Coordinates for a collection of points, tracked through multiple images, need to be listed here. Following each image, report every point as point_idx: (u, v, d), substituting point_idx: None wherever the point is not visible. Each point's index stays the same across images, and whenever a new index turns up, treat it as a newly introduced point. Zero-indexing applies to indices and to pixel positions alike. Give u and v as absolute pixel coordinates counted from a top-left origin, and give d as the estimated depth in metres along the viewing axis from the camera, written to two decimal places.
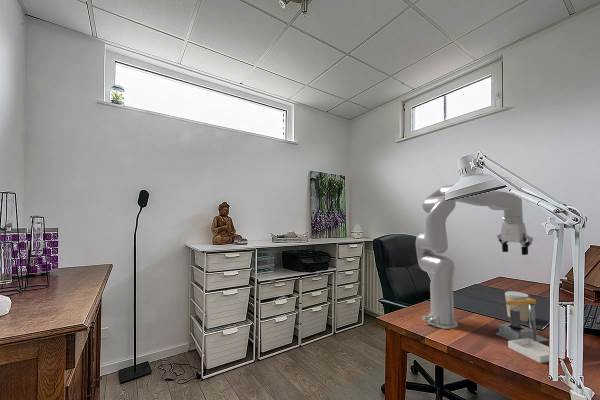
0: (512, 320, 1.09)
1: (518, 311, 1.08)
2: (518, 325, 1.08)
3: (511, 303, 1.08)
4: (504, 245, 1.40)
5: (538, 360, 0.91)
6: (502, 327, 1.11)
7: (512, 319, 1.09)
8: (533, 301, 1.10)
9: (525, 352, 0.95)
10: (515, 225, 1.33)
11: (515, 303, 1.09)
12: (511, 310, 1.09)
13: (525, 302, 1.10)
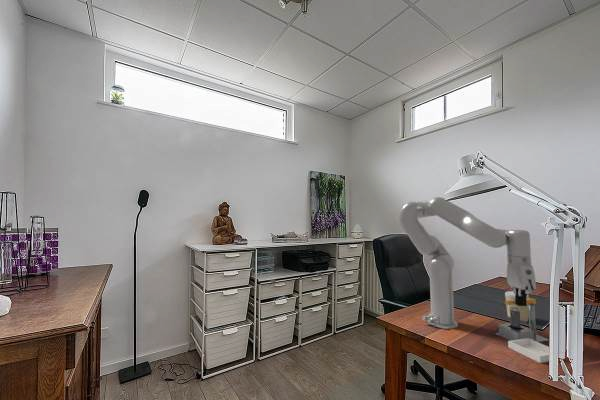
0: (512, 320, 1.09)
1: (518, 311, 1.08)
2: (518, 325, 1.08)
3: (510, 303, 1.09)
4: None
5: (538, 360, 0.91)
6: (502, 327, 1.11)
7: (512, 319, 1.09)
8: (533, 301, 1.10)
9: (525, 352, 0.95)
10: None
11: (514, 303, 1.09)
12: (511, 310, 1.09)
13: None
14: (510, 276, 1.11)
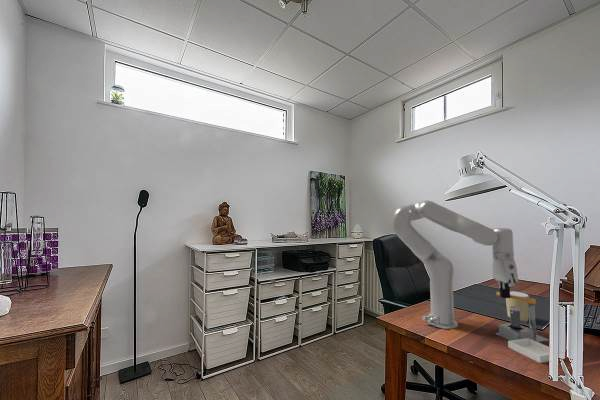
0: (512, 320, 1.09)
1: (518, 311, 1.08)
2: (518, 325, 1.08)
3: (498, 293, 1.21)
4: None
5: (538, 360, 0.91)
6: (502, 327, 1.11)
7: (512, 319, 1.09)
8: (528, 300, 1.12)
9: (525, 352, 0.95)
10: None
11: None
12: (511, 310, 1.09)
13: (518, 298, 1.15)
14: (495, 271, 1.20)
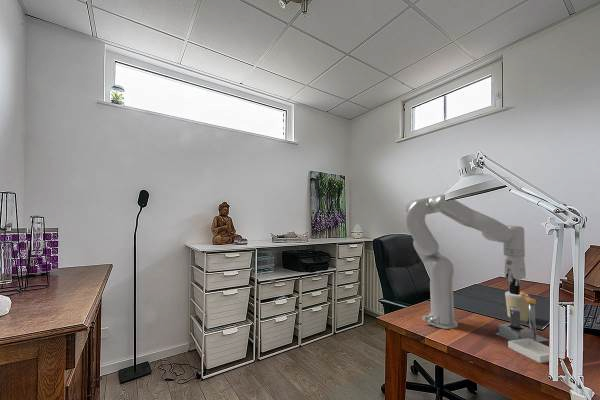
0: (512, 320, 1.09)
1: (518, 311, 1.08)
2: (518, 325, 1.08)
3: None
4: None
5: (538, 360, 0.91)
6: (502, 327, 1.11)
7: (512, 319, 1.09)
8: (526, 299, 1.13)
9: (525, 352, 0.95)
10: (523, 258, 1.20)
11: (520, 294, 1.21)
12: (511, 310, 1.09)
13: (525, 297, 1.16)
14: None
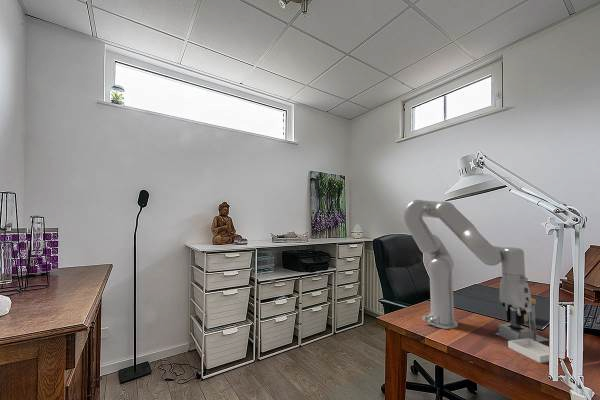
0: (512, 320, 1.09)
1: None
2: (518, 325, 1.08)
3: None
4: None
5: (538, 360, 0.91)
6: (502, 327, 1.11)
7: (512, 319, 1.09)
8: None
9: (525, 352, 0.95)
10: None
11: None
12: (511, 310, 1.09)
13: None
14: (505, 294, 1.11)
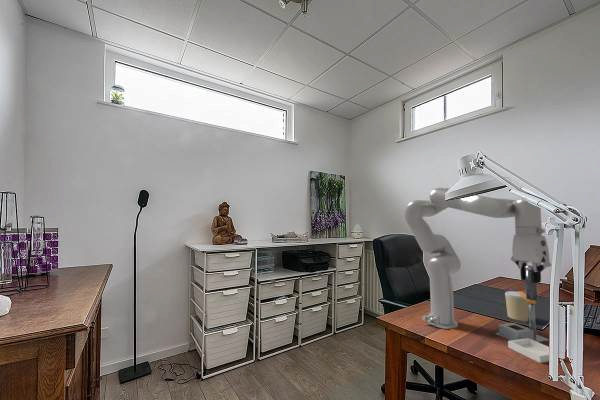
0: (527, 280, 0.98)
1: None
2: (534, 285, 0.97)
3: (518, 292, 1.23)
4: None
5: (538, 360, 0.91)
6: (502, 327, 1.11)
7: (527, 279, 0.98)
8: (526, 299, 1.13)
9: (525, 352, 0.95)
10: None
11: (520, 294, 1.21)
12: (526, 269, 0.98)
13: (525, 297, 1.16)
14: (519, 250, 1.00)
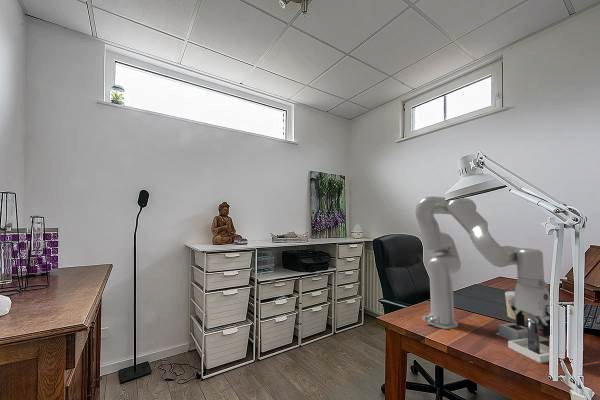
0: (530, 333, 0.97)
1: (536, 323, 0.96)
2: (536, 339, 0.96)
3: None
4: None
5: (538, 360, 0.91)
6: (502, 327, 1.11)
7: (530, 332, 0.97)
8: None
9: (525, 352, 0.95)
10: None
11: None
12: (528, 321, 0.97)
13: None
14: (521, 300, 0.99)
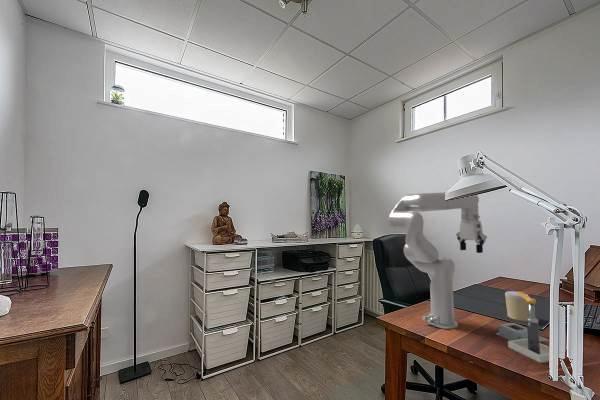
0: (529, 333, 0.97)
1: (536, 323, 0.96)
2: (536, 339, 0.96)
3: (518, 292, 1.23)
4: None
5: (538, 360, 0.91)
6: (502, 327, 1.11)
7: (529, 332, 0.97)
8: (526, 299, 1.13)
9: (525, 352, 0.95)
10: None
11: (520, 294, 1.21)
12: (528, 321, 0.97)
13: (525, 297, 1.16)
14: (463, 231, 1.37)
